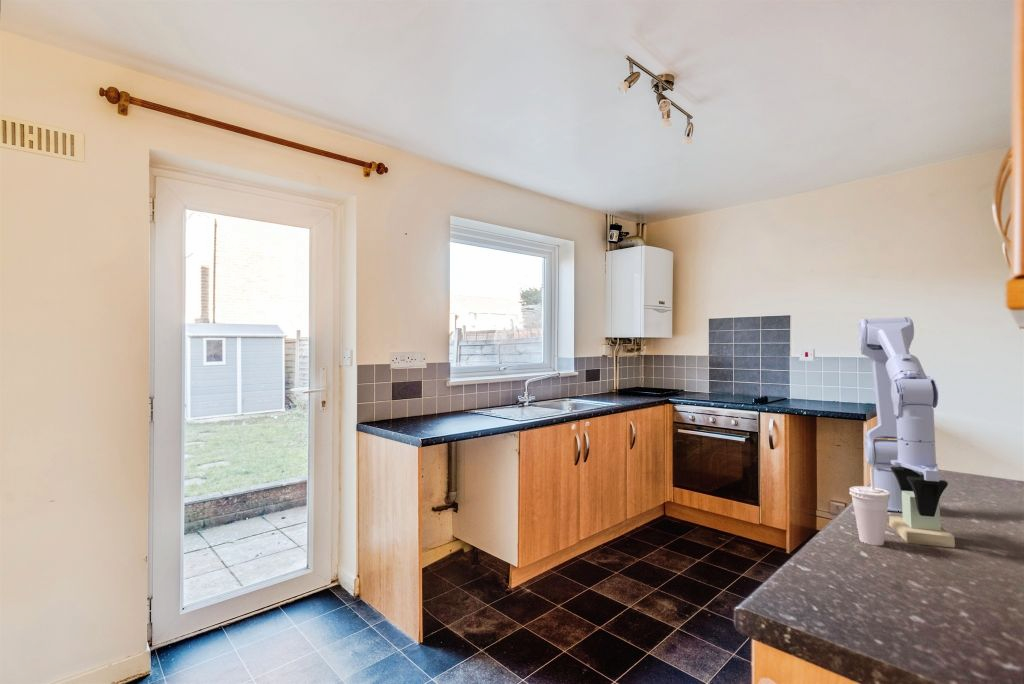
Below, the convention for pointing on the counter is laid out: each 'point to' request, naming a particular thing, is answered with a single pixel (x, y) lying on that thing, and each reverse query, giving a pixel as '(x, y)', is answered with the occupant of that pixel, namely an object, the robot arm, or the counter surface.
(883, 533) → the smoothie
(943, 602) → the counter surface
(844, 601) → the counter surface
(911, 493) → the sage block
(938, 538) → the oak slab
